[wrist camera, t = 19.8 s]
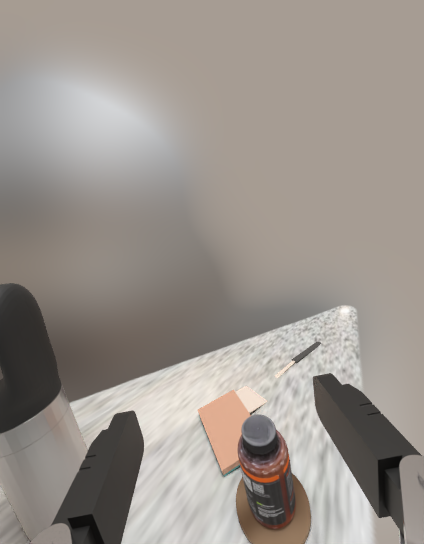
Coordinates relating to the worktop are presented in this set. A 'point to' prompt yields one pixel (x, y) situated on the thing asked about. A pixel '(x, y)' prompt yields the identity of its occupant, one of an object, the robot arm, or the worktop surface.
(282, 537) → the coaster
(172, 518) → the worktop surface
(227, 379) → the worktop surface
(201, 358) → the worktop surface
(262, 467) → the supplement bottle
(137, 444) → the robot arm
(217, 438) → the tile
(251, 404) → the spatula
